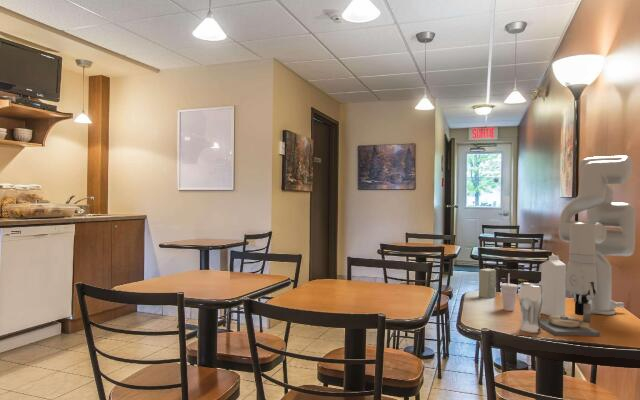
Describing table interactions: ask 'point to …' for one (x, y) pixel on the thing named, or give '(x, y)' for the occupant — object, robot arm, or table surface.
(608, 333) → the table surface
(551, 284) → the milk
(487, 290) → the skincare box
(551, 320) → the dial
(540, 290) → the beer glass
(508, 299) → the smoothie
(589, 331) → the board
